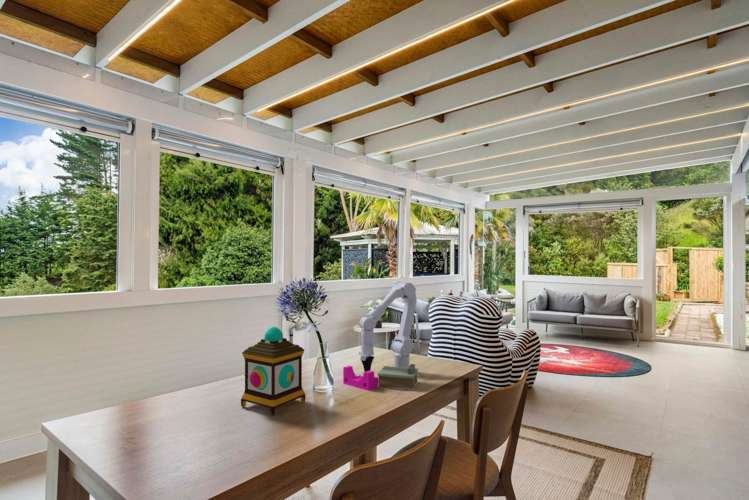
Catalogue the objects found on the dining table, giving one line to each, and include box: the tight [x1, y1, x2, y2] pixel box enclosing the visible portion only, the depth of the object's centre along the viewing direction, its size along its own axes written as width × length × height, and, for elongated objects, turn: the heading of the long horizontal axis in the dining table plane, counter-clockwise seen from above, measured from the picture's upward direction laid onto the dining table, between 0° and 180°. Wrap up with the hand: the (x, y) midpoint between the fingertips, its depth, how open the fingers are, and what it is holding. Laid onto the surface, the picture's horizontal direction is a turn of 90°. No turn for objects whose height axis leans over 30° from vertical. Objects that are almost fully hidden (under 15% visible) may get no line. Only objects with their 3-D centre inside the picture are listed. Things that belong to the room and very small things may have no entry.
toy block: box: [342, 365, 379, 391], centre depth 187 cm, size 15×6×8 cm, turn 49°
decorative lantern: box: [240, 326, 306, 417], centre depth 163 cm, size 20×20×30 cm
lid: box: [377, 363, 419, 379], centre depth 188 cm, size 13×16×3 cm
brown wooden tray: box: [378, 372, 418, 391], centre depth 188 cm, size 12×15×5 cm
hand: (367, 372), depth 197 cm, fingers closed
